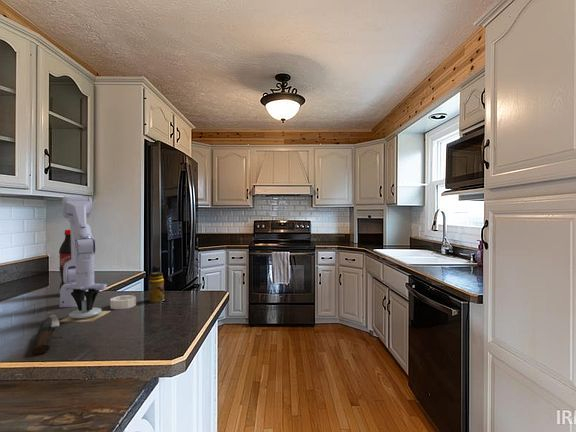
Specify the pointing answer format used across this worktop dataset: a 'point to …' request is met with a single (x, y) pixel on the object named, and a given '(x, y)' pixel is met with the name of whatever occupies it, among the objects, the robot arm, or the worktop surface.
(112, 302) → the bowl
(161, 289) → the condiment
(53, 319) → the kitchen knife
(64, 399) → the worktop surface
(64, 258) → the cola bottle
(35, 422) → the worktop surface
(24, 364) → the worktop surface
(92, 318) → the mat
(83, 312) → the lid
